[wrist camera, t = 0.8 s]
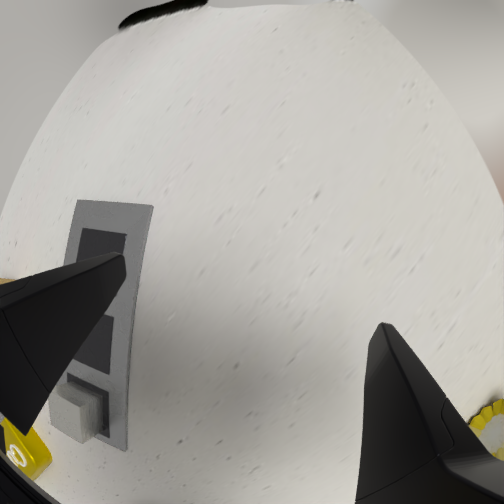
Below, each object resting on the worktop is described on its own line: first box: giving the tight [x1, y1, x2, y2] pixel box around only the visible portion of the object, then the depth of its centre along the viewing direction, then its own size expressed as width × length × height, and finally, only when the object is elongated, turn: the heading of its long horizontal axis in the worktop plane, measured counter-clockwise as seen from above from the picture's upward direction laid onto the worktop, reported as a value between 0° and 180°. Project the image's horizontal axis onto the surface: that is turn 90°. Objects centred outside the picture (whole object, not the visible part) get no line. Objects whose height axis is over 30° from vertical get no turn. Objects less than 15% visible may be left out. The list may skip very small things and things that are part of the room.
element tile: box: [0, 417, 52, 481], centre depth 22 cm, size 15×15×5 cm
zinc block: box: [48, 381, 103, 444], centre depth 21 cm, size 4×4×4 cm
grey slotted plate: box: [56, 200, 153, 452], centre depth 24 cm, size 26×10×1 cm, turn 171°
